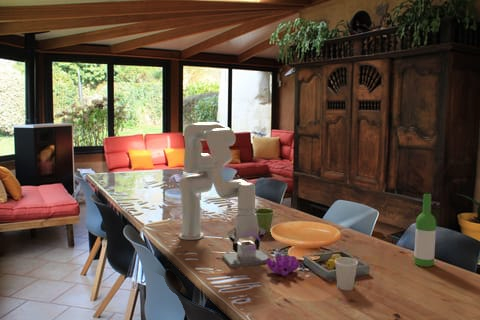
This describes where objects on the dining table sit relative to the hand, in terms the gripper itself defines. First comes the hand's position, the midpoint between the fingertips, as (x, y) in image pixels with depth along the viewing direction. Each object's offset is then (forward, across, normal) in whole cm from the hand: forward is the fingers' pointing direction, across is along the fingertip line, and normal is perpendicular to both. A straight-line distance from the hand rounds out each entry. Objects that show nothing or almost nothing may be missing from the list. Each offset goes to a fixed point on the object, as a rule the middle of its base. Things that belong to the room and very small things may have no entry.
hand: (246, 250), depth 185 cm
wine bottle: (+4, -69, +29) cm, 75 cm away
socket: (+3, 0, 0) cm, 3 cm away
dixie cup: (+4, -25, +38) cm, 46 cm away
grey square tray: (+4, -31, +21) cm, 38 cm away
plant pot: (+5, -23, -37) cm, 44 cm away
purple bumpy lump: (+5, -9, +18) cm, 21 cm away
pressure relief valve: (+5, -33, +23) cm, 41 cm away
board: (+4, 0, 0) cm, 4 cm away
